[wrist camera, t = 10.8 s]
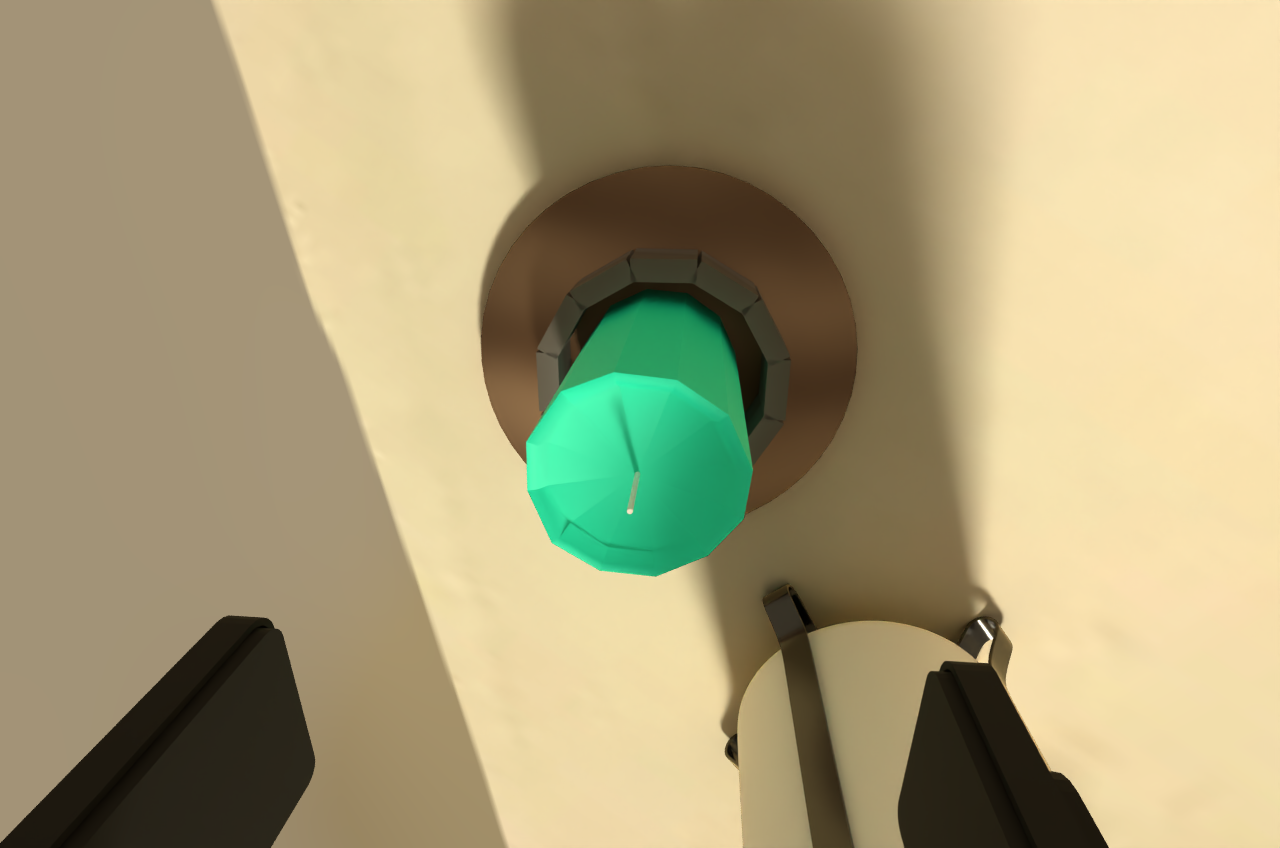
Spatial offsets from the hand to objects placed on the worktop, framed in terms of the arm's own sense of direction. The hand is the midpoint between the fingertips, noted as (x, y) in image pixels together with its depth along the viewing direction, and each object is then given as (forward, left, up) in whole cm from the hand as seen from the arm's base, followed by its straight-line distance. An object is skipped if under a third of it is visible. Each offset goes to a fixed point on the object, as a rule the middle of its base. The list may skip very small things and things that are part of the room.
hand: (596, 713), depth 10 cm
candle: (0, 0, -19) cm, 19 cm away
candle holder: (+1, 0, -20) cm, 20 cm away
